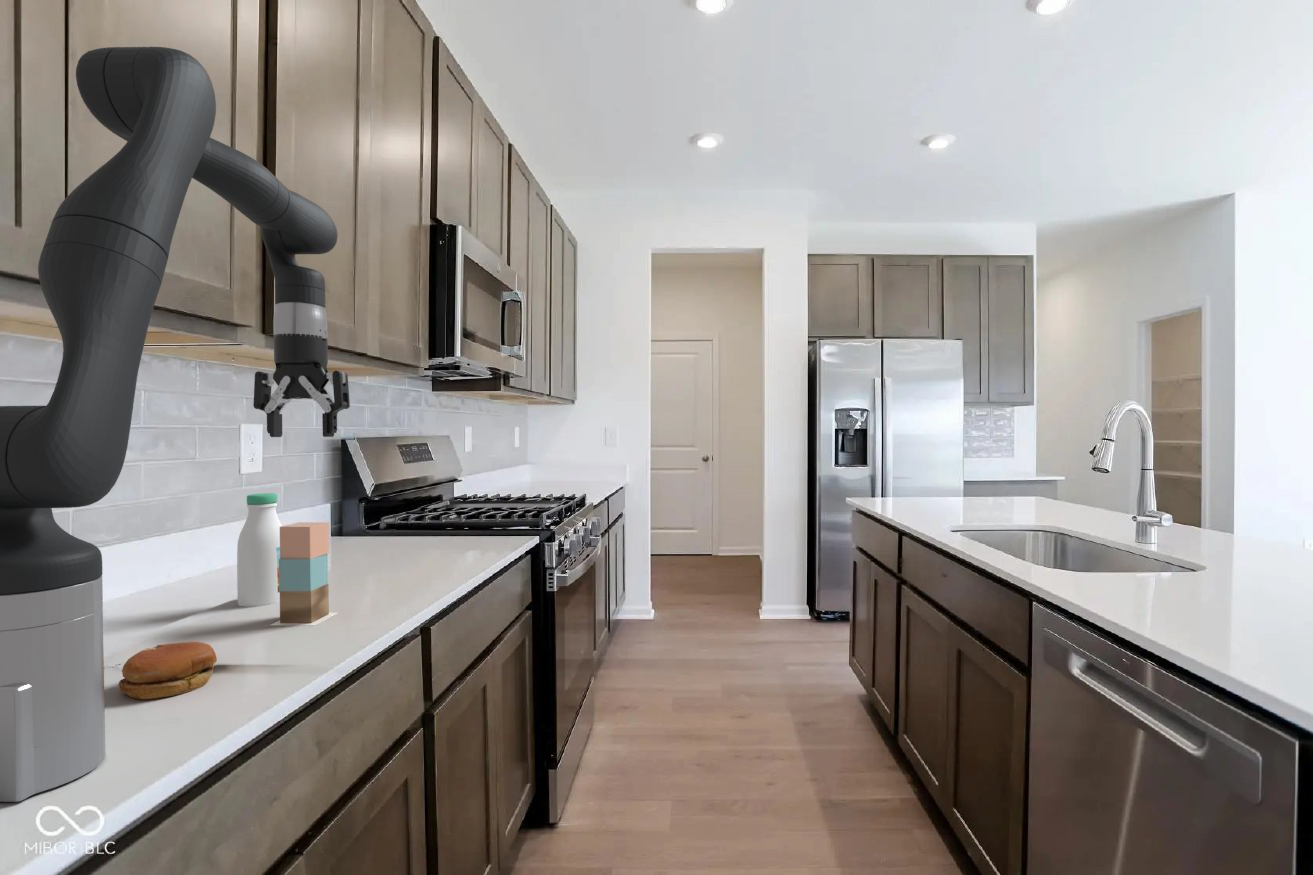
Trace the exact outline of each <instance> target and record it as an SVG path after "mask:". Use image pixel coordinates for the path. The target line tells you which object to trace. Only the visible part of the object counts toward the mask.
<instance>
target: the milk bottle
mask: <svg viewBox="0 0 1313 875" xmlns="http://www.w3.org/2000/svg"><path fill="white" fill-rule="evenodd" d="M277 502H278V495H277V493H271V492H270V493H266V492H265V493H252V494H247V495H246V504H247V506H246V508H247V509H248V512H247V513H248V514H247V516H246V520H245V522H244V524H243V527H242V528H241V531H240V532H239V536H238V539H237V547H236V548H237V552H236V562H237V563H236V568H237V569H236V572H237V574H236V576H237V578H236V579H237V580H236V581H237V584H236V586H237V592H236V593H237V605H238V606H240V607H246V608H247V607H249V608H250V607H251V608H252V607H265V606H270V605H277V604H280V591H279V559H280V527H281V526H283V525H282V523H281V521H280V519H279V516H278V514H277V510H276V509H277V506H278V504H277Z"/></svg>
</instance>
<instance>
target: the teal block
mask: <svg viewBox="0 0 1313 875" xmlns="http://www.w3.org/2000/svg"><path fill="white" fill-rule="evenodd" d="M328 554H329V553H328ZM328 554H324V555H321V556H318V557H315V558H312V559H279V591H312V590H315V589H317V588H319V587H321V586H324V585H326V584H328V585H329V582H328V581H329V580H328V579H329V573H328V572H329V569H328V568H329V566H328V564H329V563H328V562H329V561H328V560H329V559H328V557H329V556H328Z"/></svg>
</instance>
